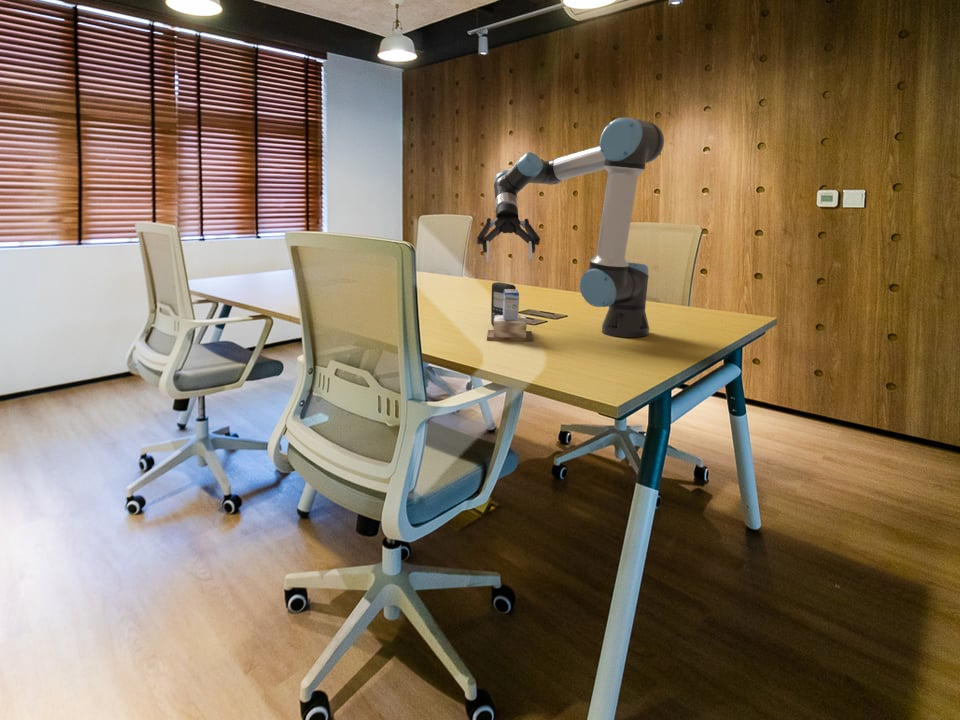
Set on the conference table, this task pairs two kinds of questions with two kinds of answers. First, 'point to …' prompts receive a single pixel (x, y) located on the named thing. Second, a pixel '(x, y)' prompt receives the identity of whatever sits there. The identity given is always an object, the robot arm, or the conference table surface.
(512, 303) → the medicine box
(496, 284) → the card reader
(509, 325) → the build base
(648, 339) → the conference table surface
